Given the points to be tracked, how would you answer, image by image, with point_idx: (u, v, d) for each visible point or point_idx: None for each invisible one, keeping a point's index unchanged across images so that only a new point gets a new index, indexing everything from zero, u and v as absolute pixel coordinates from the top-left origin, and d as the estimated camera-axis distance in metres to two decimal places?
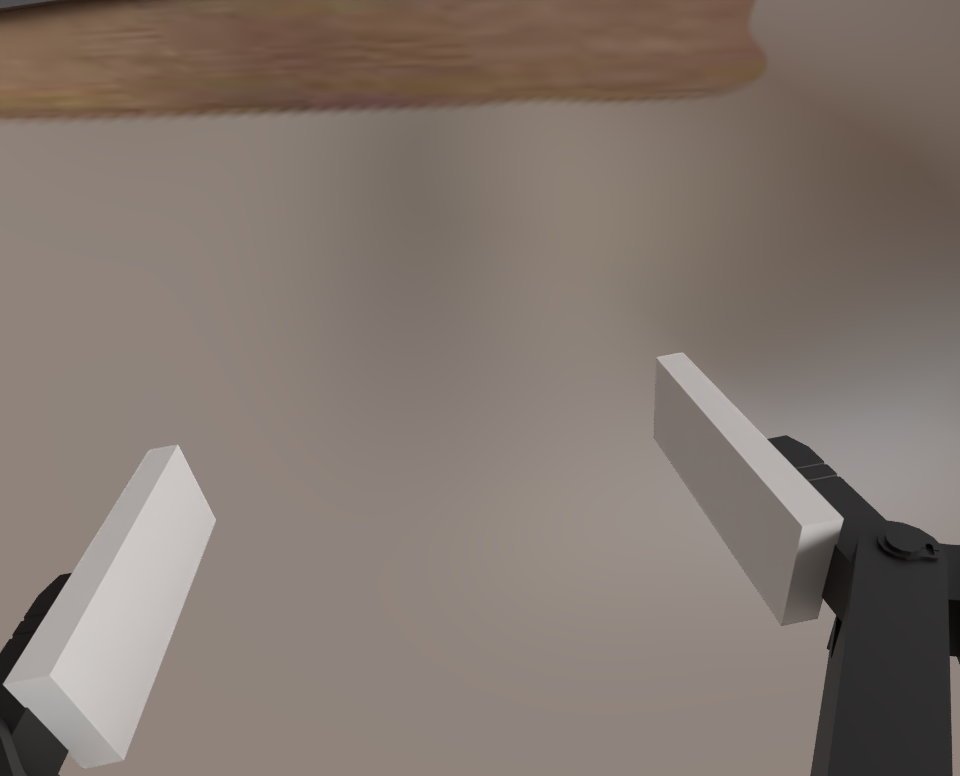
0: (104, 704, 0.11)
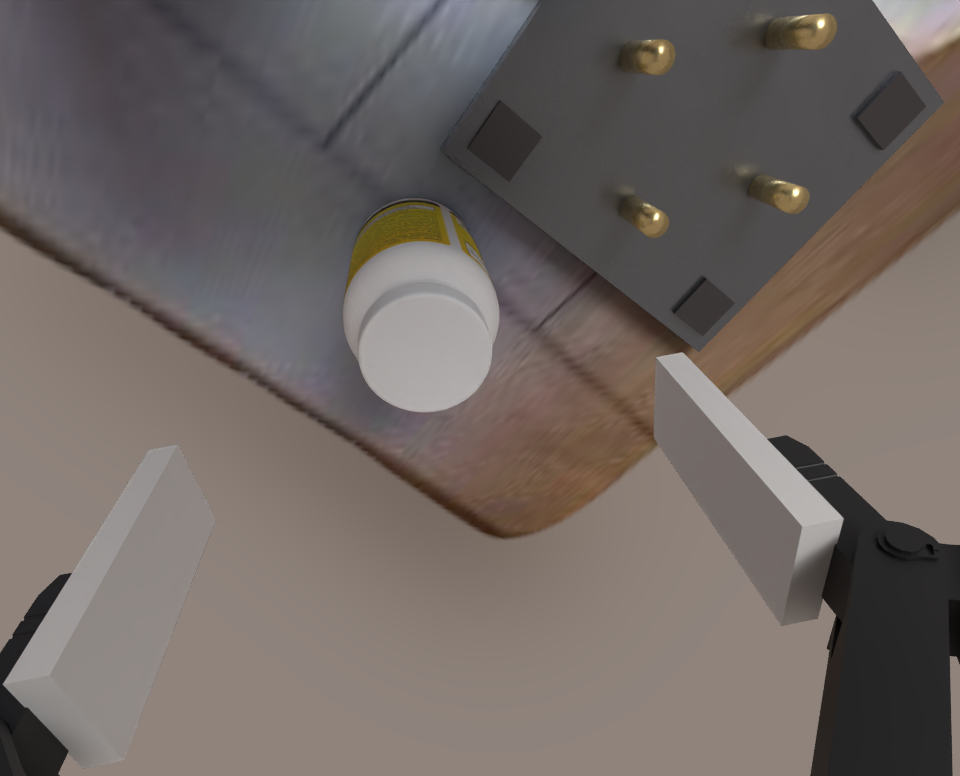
0: (104, 704, 0.11)
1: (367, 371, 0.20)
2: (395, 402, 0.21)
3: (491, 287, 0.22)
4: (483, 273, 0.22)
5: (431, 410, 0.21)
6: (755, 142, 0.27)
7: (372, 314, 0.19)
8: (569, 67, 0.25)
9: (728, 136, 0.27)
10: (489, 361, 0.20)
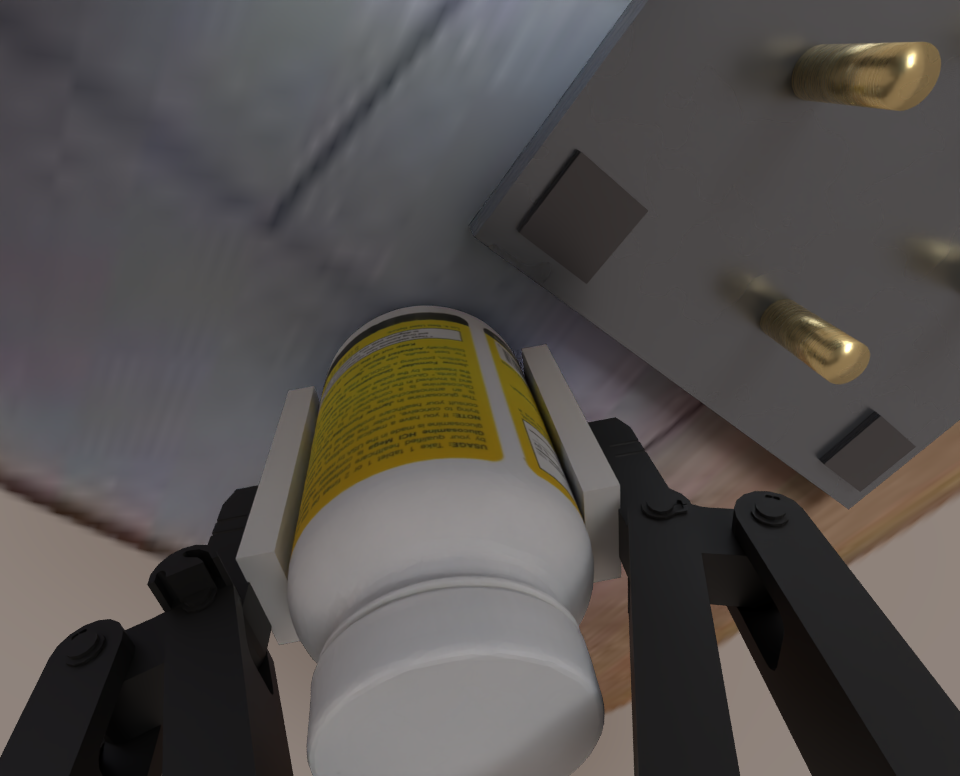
0: None
1: None
2: None
3: (584, 535, 0.11)
4: (569, 512, 0.11)
5: None
6: None
7: (337, 686, 0.08)
8: (703, 92, 0.14)
9: (950, 204, 0.16)
10: (596, 739, 0.09)
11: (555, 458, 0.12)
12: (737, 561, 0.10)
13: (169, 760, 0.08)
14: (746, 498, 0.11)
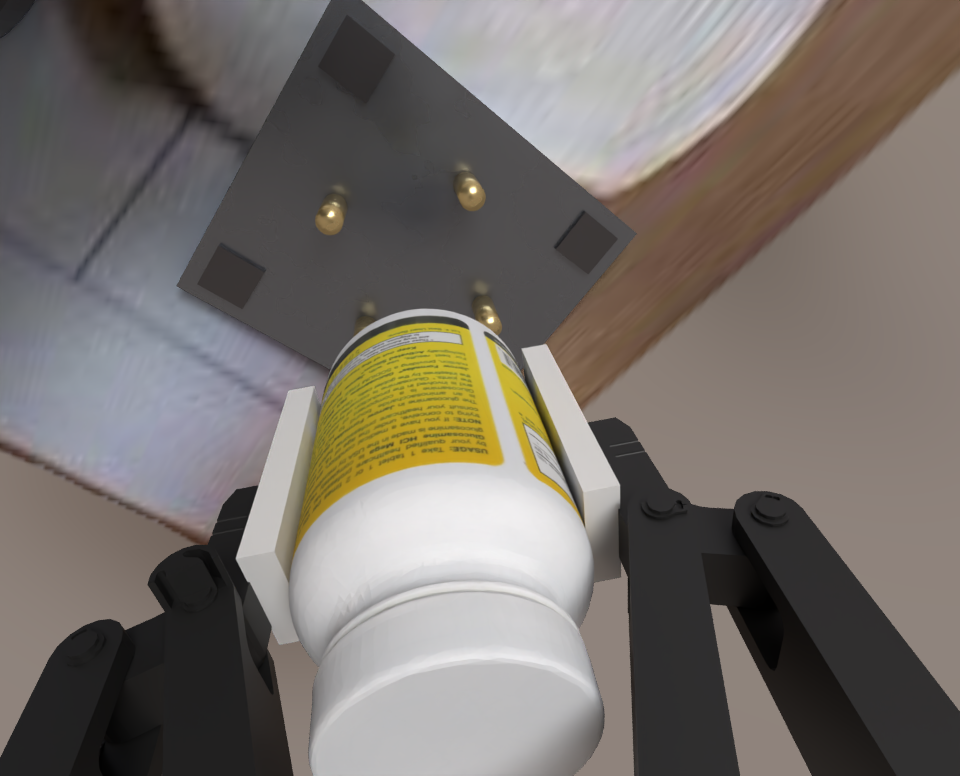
0: None
1: None
2: None
3: (584, 539, 0.11)
4: (570, 516, 0.11)
5: None
6: (468, 270, 0.31)
7: (339, 690, 0.08)
8: (278, 216, 0.28)
9: (441, 266, 0.30)
10: (596, 742, 0.09)
11: (555, 462, 0.13)
12: (737, 561, 0.10)
13: (169, 760, 0.08)
14: (746, 498, 0.11)
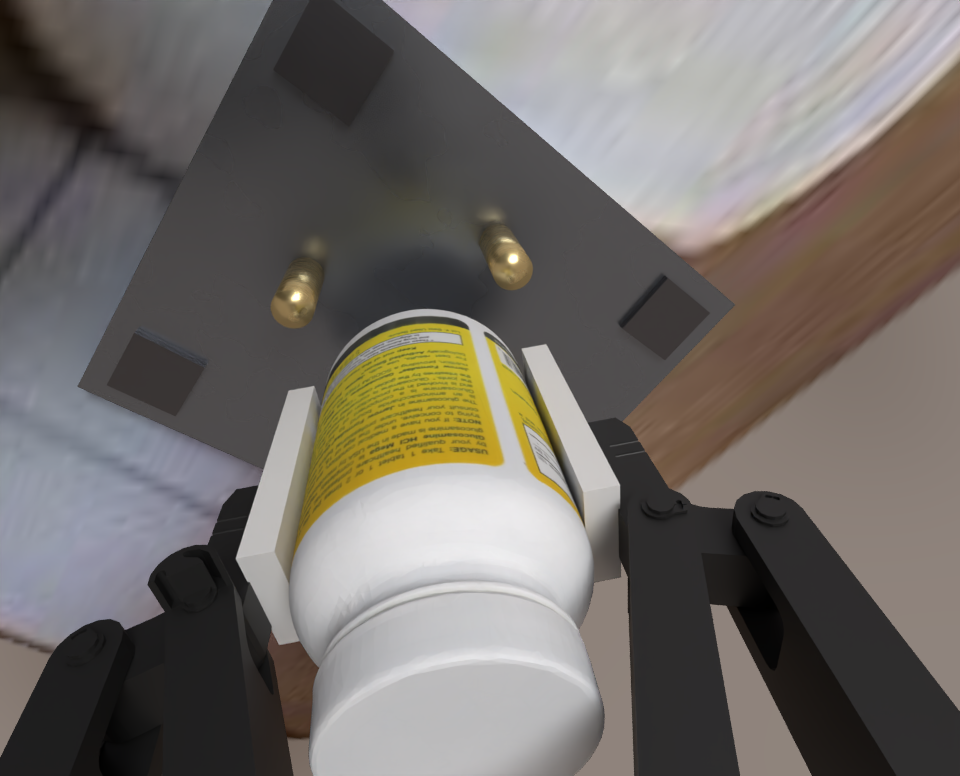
0: None
1: None
2: None
3: (584, 539, 0.11)
4: (570, 517, 0.11)
5: None
6: None
7: (339, 691, 0.08)
8: (221, 290, 0.19)
9: None
10: (596, 743, 0.09)
11: (555, 462, 0.13)
12: (737, 561, 0.10)
13: (169, 760, 0.08)
14: (746, 498, 0.11)
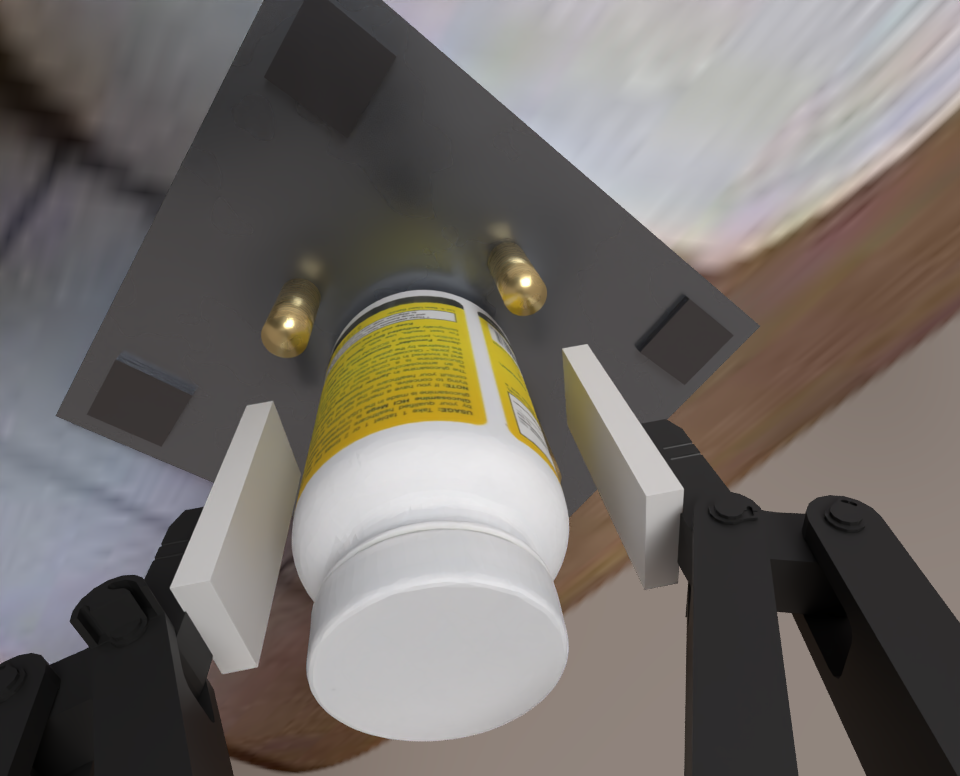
0: (243, 615, 0.12)
1: (325, 698, 0.10)
2: (381, 733, 0.11)
3: (559, 495, 0.12)
4: (546, 473, 0.12)
5: (448, 738, 0.11)
6: None
7: (333, 609, 0.09)
8: (210, 313, 0.18)
9: None
10: (561, 669, 0.11)
11: (537, 428, 0.14)
12: (806, 564, 0.10)
13: None
14: (819, 501, 0.11)
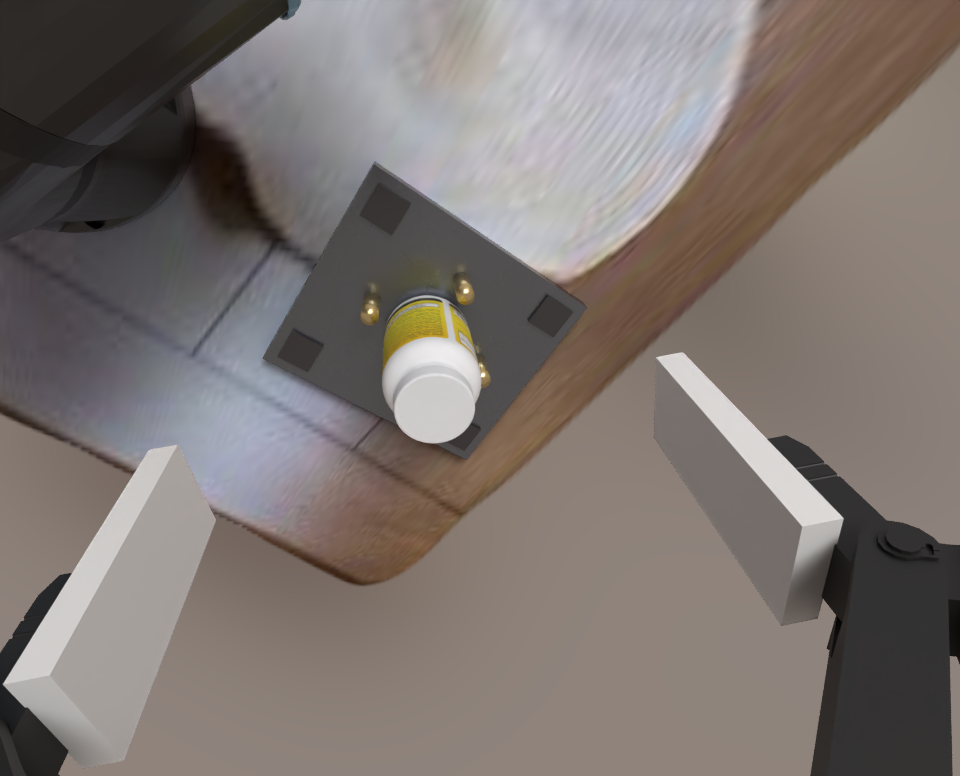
0: (104, 704, 0.11)
1: (399, 419, 0.33)
2: (416, 437, 0.33)
3: (475, 363, 0.35)
4: (469, 354, 0.35)
5: (439, 442, 0.34)
6: None
7: (402, 386, 0.32)
8: (332, 309, 0.41)
9: None
10: (473, 411, 0.33)
11: (469, 344, 0.36)
12: None
13: None
14: None
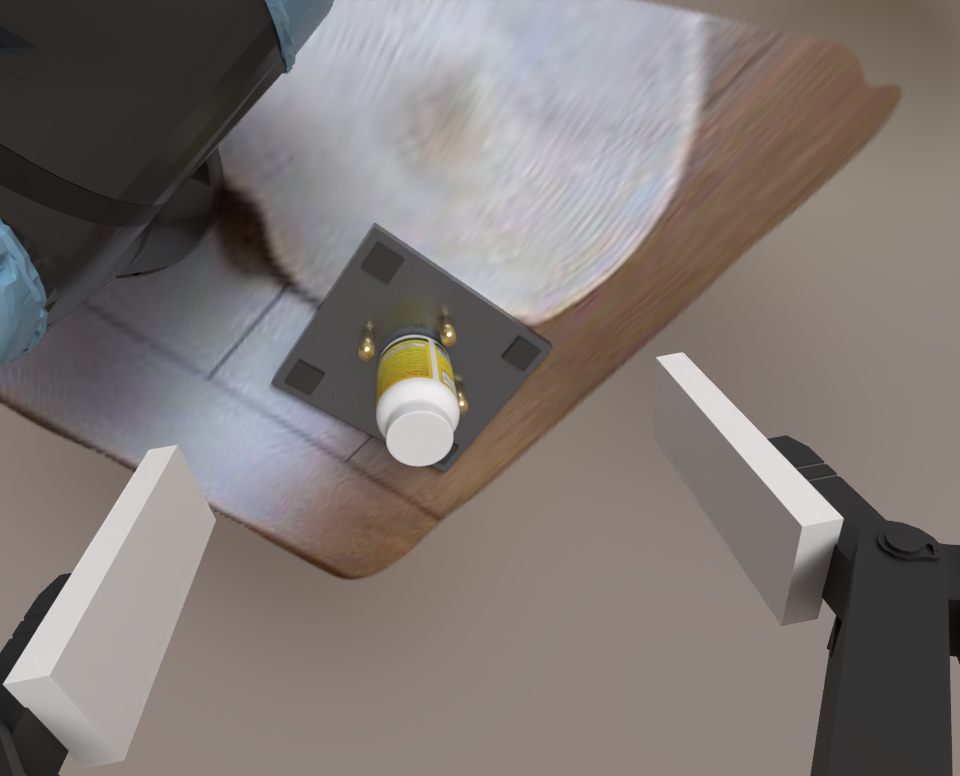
0: (104, 704, 0.11)
1: (390, 447, 0.39)
2: (404, 461, 0.40)
3: (454, 399, 0.42)
4: (450, 392, 0.41)
5: (422, 465, 0.41)
6: None
7: (393, 420, 0.39)
8: (333, 344, 0.47)
9: None
10: (452, 441, 0.40)
11: (450, 381, 0.43)
12: None
13: None
14: None
